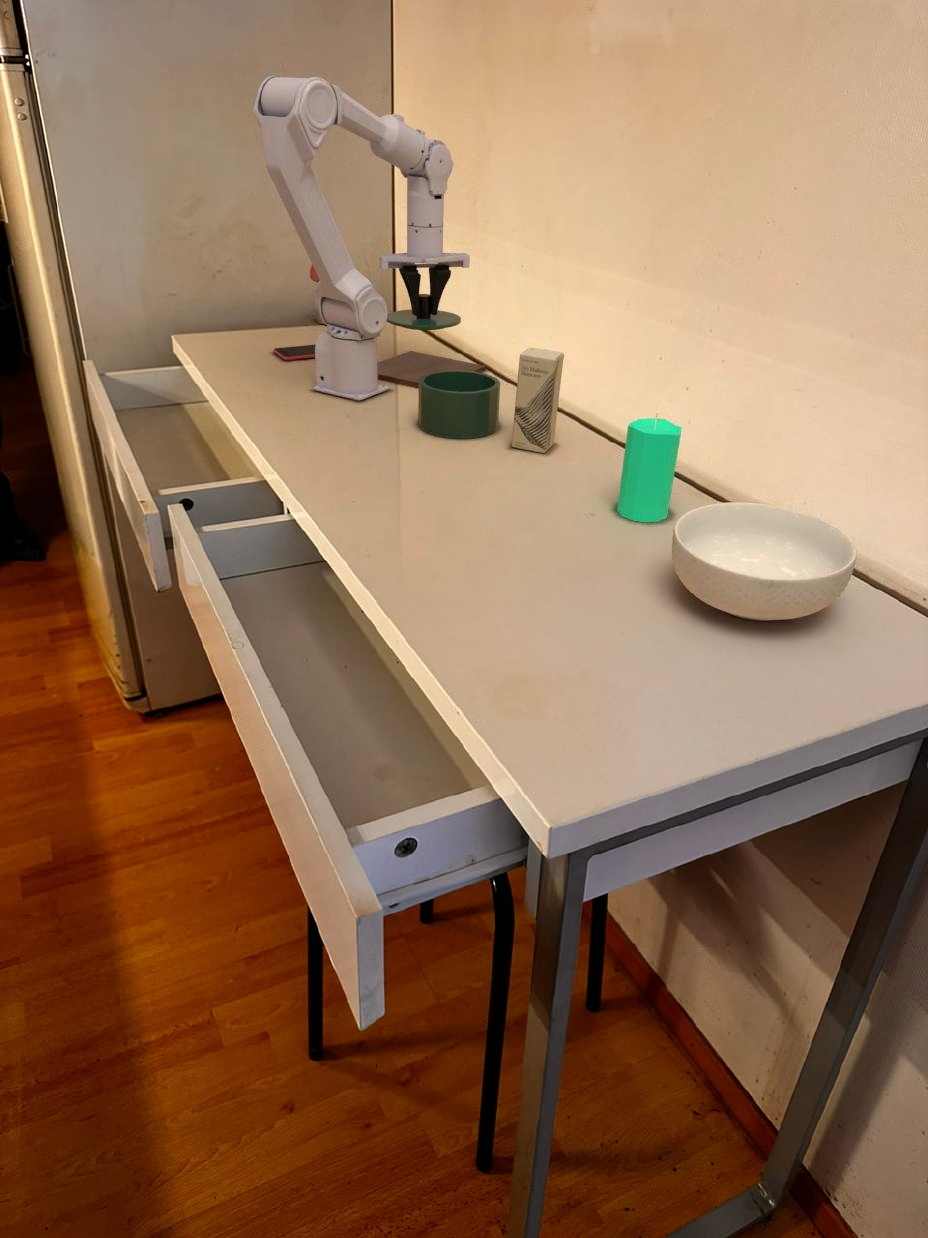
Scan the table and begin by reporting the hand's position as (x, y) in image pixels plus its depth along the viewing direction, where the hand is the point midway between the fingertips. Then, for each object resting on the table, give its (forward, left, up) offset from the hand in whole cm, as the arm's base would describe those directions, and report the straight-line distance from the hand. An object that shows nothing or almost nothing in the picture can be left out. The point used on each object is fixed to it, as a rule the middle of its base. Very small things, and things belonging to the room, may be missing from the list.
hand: (424, 314), depth 148 cm
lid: (0, 0, -1) cm, 1 cm away
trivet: (-1, +1, -10) cm, 10 cm away
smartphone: (-23, -1, -10) cm, 25 cm away
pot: (+19, -19, -10) cm, 29 cm away
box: (+32, -20, -10) cm, 39 cm away
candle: (+53, -32, -10) cm, 63 cm away
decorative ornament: (-36, +20, -10) cm, 42 cm away
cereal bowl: (+70, -46, -10) cm, 85 cm away
